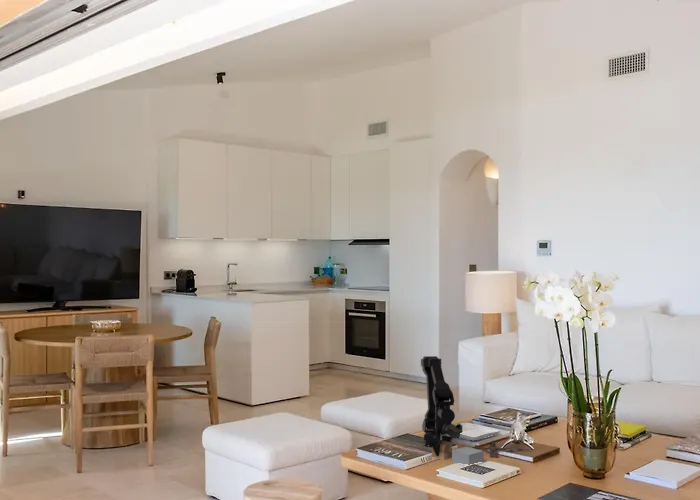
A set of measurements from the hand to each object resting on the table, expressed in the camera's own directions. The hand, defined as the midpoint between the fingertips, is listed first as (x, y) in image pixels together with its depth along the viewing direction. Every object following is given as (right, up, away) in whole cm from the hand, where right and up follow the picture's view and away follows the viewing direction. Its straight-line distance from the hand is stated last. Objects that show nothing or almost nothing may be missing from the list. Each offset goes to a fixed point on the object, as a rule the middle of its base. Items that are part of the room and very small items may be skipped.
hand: (441, 454), depth 298 cm
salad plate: (+18, -2, +35) cm, 39 cm away
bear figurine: (+23, -2, +6) cm, 24 cm away
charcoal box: (+10, -1, -7) cm, 12 cm away
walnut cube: (0, -1, 0) cm, 1 cm away
